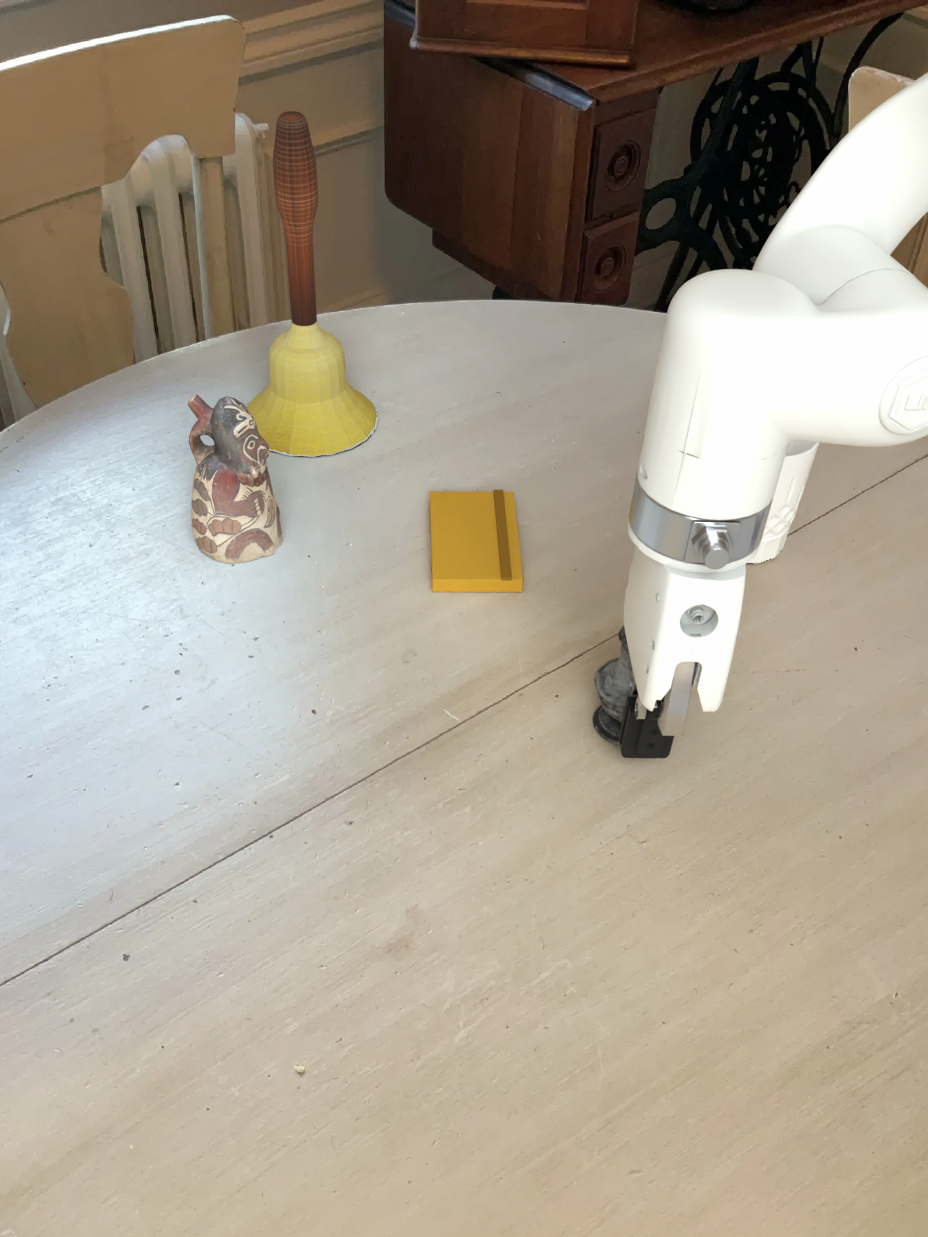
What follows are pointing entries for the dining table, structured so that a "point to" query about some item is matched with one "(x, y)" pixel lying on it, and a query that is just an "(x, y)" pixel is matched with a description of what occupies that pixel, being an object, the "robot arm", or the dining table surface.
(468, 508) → the yellow strapped notebook
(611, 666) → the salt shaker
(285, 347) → the handbell
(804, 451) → the white cup
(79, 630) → the dining table surface
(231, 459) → the figurine
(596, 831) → the dining table surface
